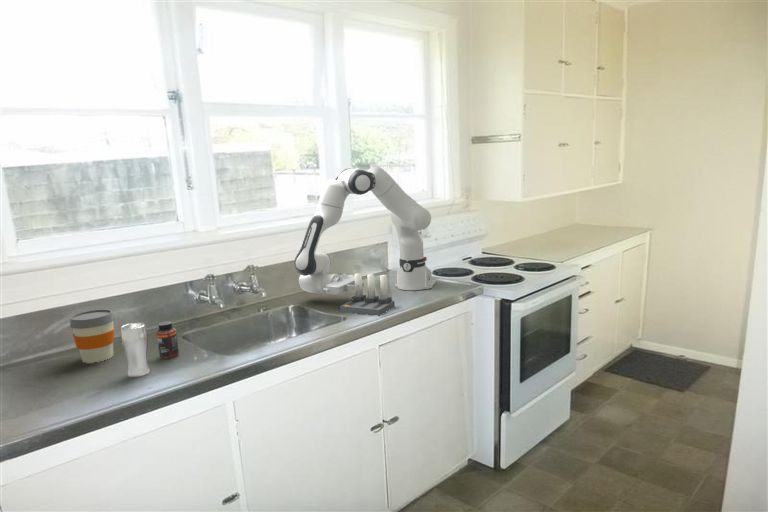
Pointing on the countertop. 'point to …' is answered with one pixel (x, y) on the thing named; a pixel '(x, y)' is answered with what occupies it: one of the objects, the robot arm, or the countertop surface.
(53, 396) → the countertop surface
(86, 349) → the reusable coffee cup
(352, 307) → the switch console
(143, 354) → the beer glass
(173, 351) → the supplement bottle
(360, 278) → the switch handle
